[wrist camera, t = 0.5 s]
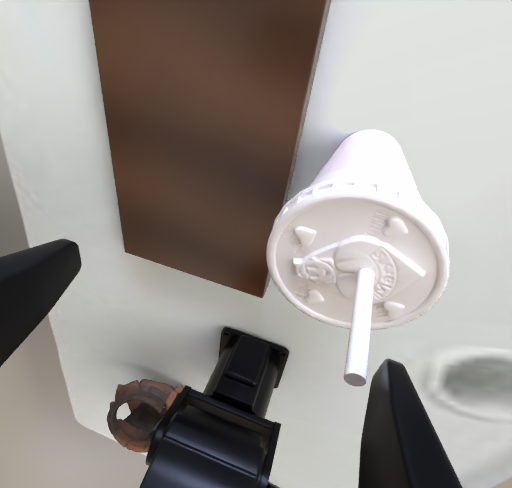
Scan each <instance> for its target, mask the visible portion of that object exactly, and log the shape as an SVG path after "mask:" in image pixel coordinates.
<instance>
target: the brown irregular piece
mask: <svg viewBox="0 0 512 488" xmlns="http://www.w3.org/2000/svg"><path fill="white" fill-rule="evenodd" d="M182 390H183V386H182V385H179V386H176V387H175V388H174V387H173V386H171V385H168V384H165V383H160V382H157V381H152V380H147V379H142V380H141V382H140V383H139V382H138V381H133V382H130V383H129V384H126V385H121V384H119V385H118V388H117V390H116V395H115V402H114V401H113V402H111V403H110V410H109V412H108V416H107V422H108V427H109V429H110V432H111V434H113V436H114V438H115V439H116V440H117V441H118V442H119V443H120V444H121V445H123V446H124V447H127V449H129V450H132V451H135V452H148V450H149V446H150V444H149V440H148V436H149V434H150V432H151V431H152V429H153V428H154V427H155V426H156V425H157V423H158V422H159V421H160V420H161V419H162V417H163V416H164V415H165V413H166V412H167V410H168V409H169V407H170V406H171V404H172V403H173V401H174V399H175V397H176V395H177V393H179V392H181V391H182ZM126 402H127V403H128V406H129V409H130V411H131V414H130V415H129V416H128V417H127V418H126V419H124V420H121V419H117V418H116V413H117V410H118V408H119V407H120V406H121V405H122V404H124V403H126ZM164 406H165V408H163V407H164Z"/></svg>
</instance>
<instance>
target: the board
mask: <svg viewBox="0 0 512 488" xmlns="http://www.w3.org/2000/svg"><path fill="white" fill-rule="evenodd" d="M330 3H331V0H89V4H90V11H91V18H92V25H93V32H94V39H95V46H96V53H97V60H98V67H99V74H100V80H101V87H102V94H103V101H104V108H105V115H106V122H107V129H108V136H109V143H110V150H111V157H112V164H113V171H114V178H115V185H116V192H117V199H118V206H119V213H120V220H121V227H122V234H123V241H124V248H125V252H126V253H129V254H132V255H135V256H138V257H141V258H144V259H147V260H150V261H153V262H156V263H159V264H162V265H165V266H168V267H171V268H174V269H177V270H180V271H183V272H186V273H189V274H192V275H195V276H198V277H201V278H204V279H207V280H210V281H213V282H216V283H219V284H222V285H225V286H228V287H231V288H234V289H237V290H240V291H242V292H245V293H248V294H251V295H254V296H257V297H260V298H263V296H264V294H265V292H266V289H267V287H268V283H269V279H270V272H269V269H268V265H267V257H266V251H267V243H268V239H269V236H270V234H271V232H272V228H273V225H274V221H275V219H276V217H277V216H278V214H279V213H280V211H281V210H282V208H283V207H284V205H285V204H286V202H287V197H288V193H289V188H290V184H291V179H292V175H293V170H294V166H295V161H296V157H297V152H298V148H299V143H300V139H301V134H302V129H303V125H304V120H305V116H306V111H307V107H308V102H309V98H310V93H311V89H312V84H313V80H314V75H315V71H316V66H317V62H318V57H319V53H320V48H321V44H322V39H323V34H324V30H325V25H326V21H327V16H328V12H329V7H330Z"/></svg>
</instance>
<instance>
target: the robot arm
mask: <svg viewBox="0 0 512 488" xmlns="http://www.w3.org/2000/svg"><path fill="white" fill-rule="evenodd" d="M80 268H81V258H80V253H79V248H78V245H77V244H76V243H75V242H72V241H70V240H67V239H59V240H56V241H52V242H49V243H46V244H42V245H39V246H36V247H33V248H29V249H26V250H23V251H19V252H16V253H13V254H10V255H7V256H3V257H0V367H1V365H2V364H3V363H4V362H5V361H6V360H7V359H8V358H9V356H10V355H11V354H12V353H13V352H14V351H15V350H16V349H17V348H18V347H19V345H20V344H21V343H22V342H23V341H24V340H25V339H26V338H27V337H28V335H29V334H30V333H31V332H32V331H33V330H34V329H35V328H36V326H37V325H38V324H39V323H40V322H41V321H42V320H43V319H44V318H45V316H46V315H47V314H48V313H49V312H50V310H51V309H52V308H53V306H54V305H55V304H56V302H57V301H58V300H59V298H60V297H61V296H62V294H63V293H64V291H65V290H66V289H67V287H68V286H69V285H70V283H71V282H72V280H73V279H74V278H75V276H76V275H77V274H78V272H79V271H80ZM288 355H289V350H288V349H286V348H284V347H281V346H278V345H276V344H273V343H270V342H267V341H264V340H262V339H259V338H256V337H253V336H250V335H247V334H245V333H242V332H239V331H236V330H233V329H231V328H227V327H225V328H223V330H222V333H221V342H220V350H219V359H218V362H217V364H216V366H215V369H214V371H213V373H212V375H211V377H210V379H209V381H208V384H207V386H206V388H205V390H204V392H203V393H201V392H198V391H196V390H193V389H191V387H189V386H187V385H185V387H184V388H183V390H182V391H181V392H179V393H177V395H176V397H175V399H174V401H173V403H172V404H171V406H170V407H169V409H168V410H167V412H166V413H165V415H164V416H163V417H162V419H161V420H160V421H159V422H158V423H157V425H156V426H155V427H154V428H153V429H152V431H151V432H150V434H149V436H148V440H149V444H150V446H149V450H148V454H147V458H146V465H149V468H148V470H147V472H146V474H145V477H144V479H143V481H142V483H141V485H140V488H266V487H267V483H268V480H269V476H270V472H271V468H272V463H273V459H274V454H275V450H276V445H277V440H278V436H279V431H280V427H281V424H280V423H277V422H275V423H274V422H272V421H269V420H267V419H264V418H265V415H266V412H267V408H268V405H269V402H270V398H271V395H272V392H273V388H277V387H278V385H279V382H280V379H281V376H282V373H283V370H284V367H285V364H286V361H287V358H288ZM358 488H462V486H461V484H460V482H459V480H458V477H457V475H456V473H455V471H454V469H453V467H452V465H451V463H450V461H449V459H448V457H447V454H446V452H445V450H444V448H443V446H442V444H441V442H440V440H439V438H438V436H437V433H436V431H435V429H434V427H433V425H432V423H431V421H430V419H429V417H428V415H427V413H426V410H425V408H424V406H423V404H422V402H421V400H420V398H419V396H418V394H417V392H416V390H415V387H414V385H413V383H412V381H411V379H410V377H409V375H408V373H407V371H406V369H405V367H404V365H403V364H401V363H399V362H396V361H394V360H391V359H386V360H385V361H384V362H383V363H382V365H381V366H380V367H379V369H378V370H377V371H376V373H375V374H374V376H373V378H372V382H371V387H370V392H369V398H368V404H367V410H366V415H365V421H364V427H363V433H362V439H361V450H360V468H359V486H358Z"/></svg>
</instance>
